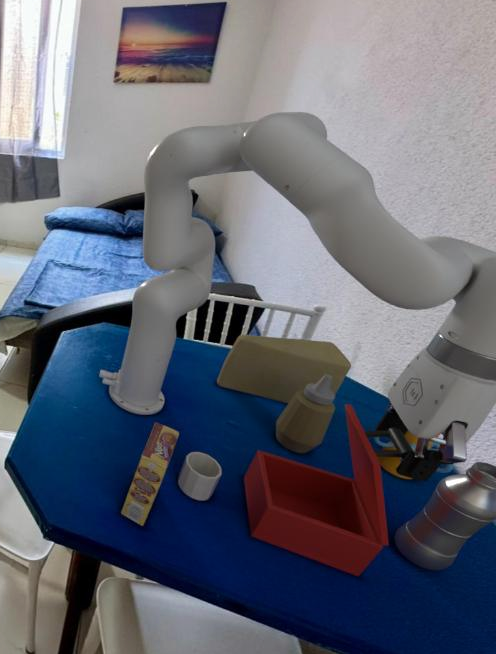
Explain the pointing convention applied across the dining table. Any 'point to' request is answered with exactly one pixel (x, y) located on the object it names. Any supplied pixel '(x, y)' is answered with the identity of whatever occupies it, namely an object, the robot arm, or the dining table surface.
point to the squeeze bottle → (306, 417)
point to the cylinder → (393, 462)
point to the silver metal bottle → (450, 518)
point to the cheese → (281, 366)
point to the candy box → (150, 473)
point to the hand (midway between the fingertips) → (398, 454)
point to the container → (199, 476)
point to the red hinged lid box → (310, 513)
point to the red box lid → (372, 467)
